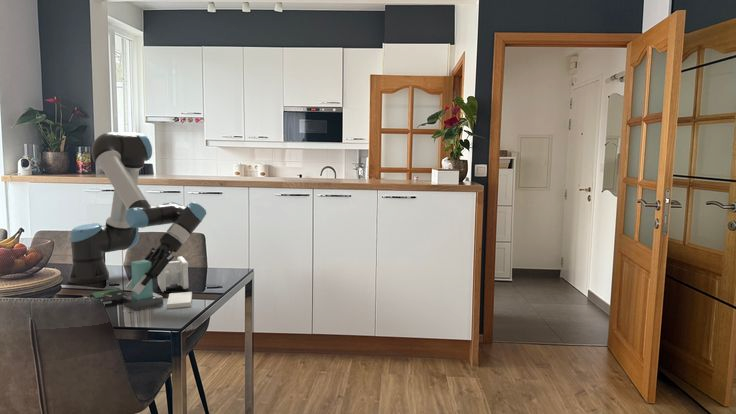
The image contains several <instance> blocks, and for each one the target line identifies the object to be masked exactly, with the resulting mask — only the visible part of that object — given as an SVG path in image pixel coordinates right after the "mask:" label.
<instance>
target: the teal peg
mask: <svg viewBox="0 0 736 414" xmlns="http://www.w3.org/2000/svg"><path fill="white" fill-rule="evenodd" d="M130 267H131V269H130V270H131V279H132V287H133V288H134V287H135V286H136V284H137V283H138V282H139V281H140V280H141V278H142V277H143V276H144V275H146V274H145V273H148V271H149V270H150V268H151V267H152V266H151V262H150V261H147V260H144V259H141V260H134V261H130ZM146 276H147V275H146ZM153 287H154V286H153V279H151V280H150V281H149V282H148V284H147V285H146V286H145V287H144V289H143V290H142V291H141V292H140V294H137V293H136V292H134V291H132V295H133V298H134V299H136V300H142V299H147V298H151V297H153V293H154V291H153V290H154V289H153Z"/></svg>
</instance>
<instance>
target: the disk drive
mask: <svg viewBox="0 0 736 414" xmlns="http://www.w3.org/2000/svg"><path fill="white" fill-rule="evenodd" d="M89 296H90V298H91V297H96V298H100V300H101V301H102V302H103V303H104V304H105V307H110V306H111V307H112V306H115V305H116V306H117V305H123V297H125V296H128V294H126V292H124V291H123V290H122V289H121V288H112V289H105V290H100V291H95V292H92V291H91V293H90V295H89Z"/></svg>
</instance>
